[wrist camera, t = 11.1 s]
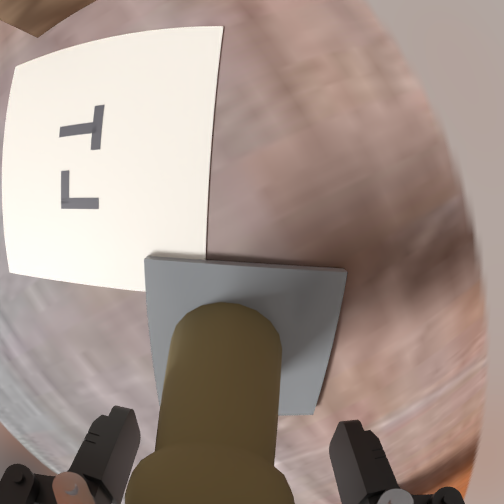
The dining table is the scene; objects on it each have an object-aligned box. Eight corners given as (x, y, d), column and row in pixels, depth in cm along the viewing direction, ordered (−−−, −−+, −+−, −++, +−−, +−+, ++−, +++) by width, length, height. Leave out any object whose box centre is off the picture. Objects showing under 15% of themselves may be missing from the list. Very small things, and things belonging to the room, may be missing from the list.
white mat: (13, 270, 15) (9, 272, 14) (19, 67, 11) (15, 66, 11) (205, 294, 15) (204, 297, 15) (223, 29, 11) (223, 26, 11)
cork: (258, 284, 14) (277, 515, 3) (296, 374, 15) (332, 554, 5) (151, 322, 14) (57, 501, 4) (201, 400, 16) (175, 564, 5)
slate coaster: (161, 399, 17) (159, 405, 16) (147, 255, 14) (143, 258, 14) (311, 408, 17) (313, 414, 16) (343, 268, 14) (347, 272, 14)
